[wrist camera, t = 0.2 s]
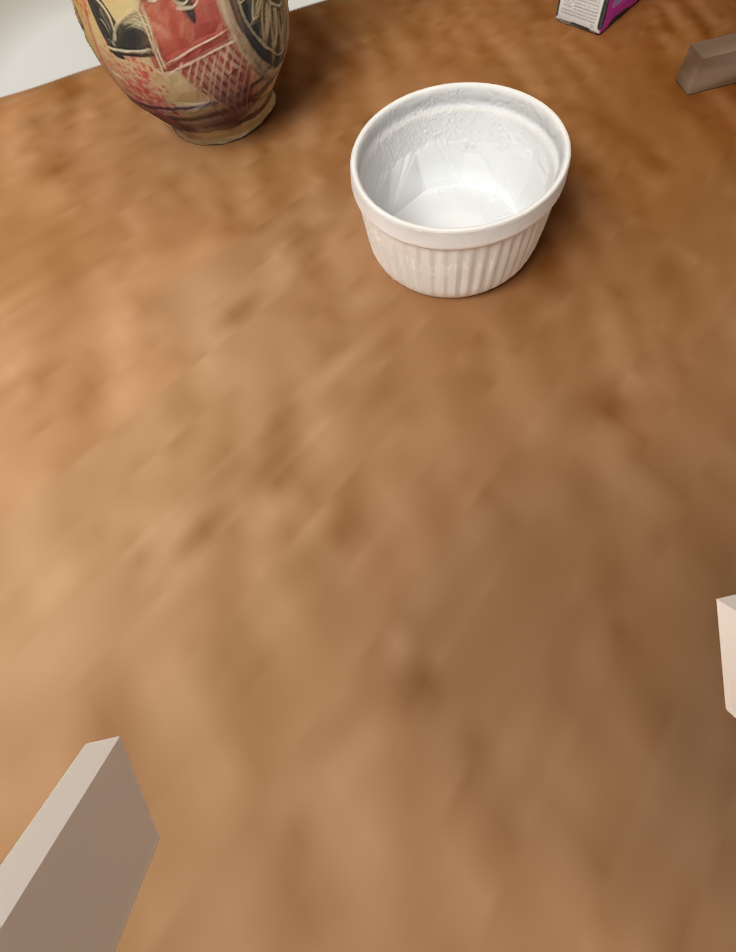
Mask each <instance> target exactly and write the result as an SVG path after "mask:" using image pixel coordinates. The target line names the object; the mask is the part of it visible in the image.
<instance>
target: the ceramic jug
mask: <svg viewBox="0 0 736 952" xmlns="http://www.w3.org/2000/svg"><path fill="white" fill-rule="evenodd" d="M72 2H73V5H74V9H75V14H76V16H77V19H78V21H79V23H80V25H81V27H82V29H83V31H84V33H85V38H86V40H87V42H88V43H89V45H90V47H91V48H92V50H93V52H94V53H95V55H96V57H97V58H98V60H99V62H100V63H101V65H102V66H103V68H104V69H105V70H106V72H107V73H108V74H109V76H110V77H111V78H112V79H113V80H114V82H115V83H116V84H117V85H118V86H119V87H120V88H121V90H122V91H123V92H124V93H125V94H126V95H127V96H128V97H129V98H130V99H131V101H133V102H134V103H135V104H137V105H138V106H140V107H141V108H142V109H144V110H146V111H148V112H149V113H151V114H153V115H154V116H156V117H158V118H159V119H161V120H163V121H165V122H166V123H168V124H170V125H171V126H172V127H173V129H174V130H175V132H176V133H177V134H178V136H179V137H181V138H182V139H184V140H186V141H188V142H191V143H193V144H198V145H210V144H217V145H220V144H224V143H228V142H231V141H234V140H237V139H240V138H242V137H243V136H245V135H247V134H248V133H249V132H251V131H252V130H254V129H255V128H256V127H257V126H259V125H260V124H261V123H262V122H263V120H264V119H265V118H266V117H267V115H268V114H269V113H270V112H271V110H272V109H273V107H274V105H275V103H276V95H275V93H274V91H273V87H274V84H275V81H276V78H277V76H278V73H279V71H280V69H281V66H282V64H283V61H284V57H285V54H286V51H287V48H288V44H289V9H288V0H72ZM322 84H323V83H322Z"/></svg>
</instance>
